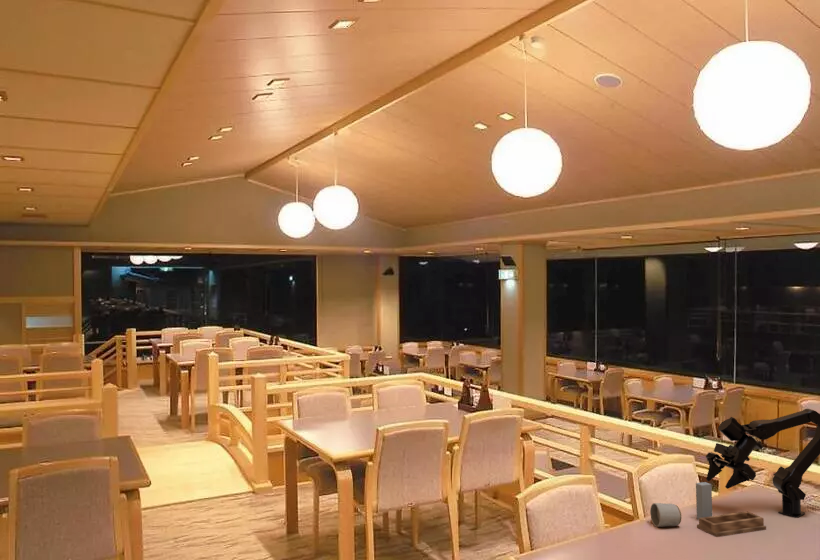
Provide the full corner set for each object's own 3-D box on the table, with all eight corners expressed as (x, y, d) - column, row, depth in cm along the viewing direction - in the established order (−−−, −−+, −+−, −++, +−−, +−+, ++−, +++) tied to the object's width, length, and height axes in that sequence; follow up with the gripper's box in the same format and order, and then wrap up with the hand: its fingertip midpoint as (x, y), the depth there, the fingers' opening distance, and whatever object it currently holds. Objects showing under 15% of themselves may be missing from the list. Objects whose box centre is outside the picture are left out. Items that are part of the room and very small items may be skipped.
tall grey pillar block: (706, 517, 230) (705, 482, 230) (712, 520, 227) (711, 484, 227) (696, 519, 229) (695, 483, 229) (702, 521, 226) (701, 485, 226)
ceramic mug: (683, 528, 220) (682, 505, 220) (660, 530, 219) (659, 507, 219) (667, 518, 230) (667, 496, 231) (645, 519, 229) (645, 497, 230)
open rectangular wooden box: (745, 520, 226) (745, 510, 226) (766, 529, 218) (765, 518, 218) (697, 527, 221) (696, 517, 221) (716, 536, 212) (716, 526, 212)
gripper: (709, 430, 240) (684, 462, 237) (748, 441, 222) (722, 476, 219) (727, 449, 242) (703, 482, 239) (767, 462, 224) (742, 497, 221)
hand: (716, 484), depth 230 cm, fingers open, 9 cm apart
